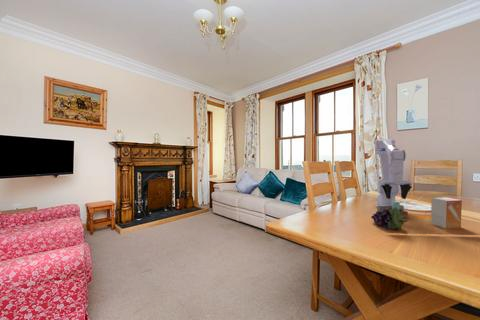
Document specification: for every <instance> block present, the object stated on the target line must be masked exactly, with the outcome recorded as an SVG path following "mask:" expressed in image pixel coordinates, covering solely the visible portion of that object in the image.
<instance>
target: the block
mask: <svg viewBox="0 0 480 320" xmlns="http://www.w3.org/2000/svg"><path fill="white" fill-rule="evenodd" d="M385 209H392V208H385ZM399 212H401V215H402V217H403V219H404V218H409V216H408V215H409V213H408V212H409V211H407V210H405V209H404V210H402V209H400V211H399Z"/></svg>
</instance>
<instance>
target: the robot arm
mask: <svg viewBox="0 0 480 320" xmlns="http://www.w3.org/2000/svg"><path fill="white" fill-rule="evenodd" d="M374 153H375V154H376V155H378V158H379V164H380V171H381V172H380V173H381V179H379V180H378V181H377V182H376V184H377V186H376V187H377V189H376V190H377V193H378V195H377V197H376V206H374V207H375V208H377V205H392V202H396V197H397V195H399V194H401V199H403V200H406V199H407V196H408V194H409V192H410V190H411V189H413V188H412V185H413V181H412V180H411V181H410V180H404V161H405V160H406V155H407V153H406V151H405V150H404V149H400V148H399V147H398V146H397V145H396V140H395V139H394V138H390V139H389V138H388V139H387V138H383V139H382V138H381V139H375V140H374ZM400 192H401V193H400Z"/></svg>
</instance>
